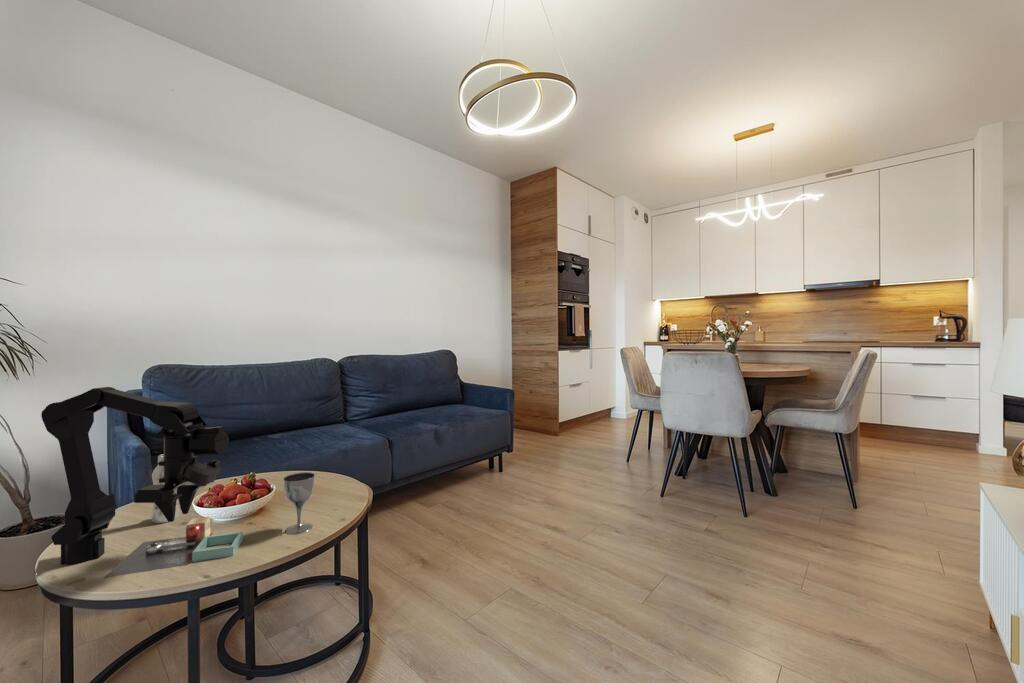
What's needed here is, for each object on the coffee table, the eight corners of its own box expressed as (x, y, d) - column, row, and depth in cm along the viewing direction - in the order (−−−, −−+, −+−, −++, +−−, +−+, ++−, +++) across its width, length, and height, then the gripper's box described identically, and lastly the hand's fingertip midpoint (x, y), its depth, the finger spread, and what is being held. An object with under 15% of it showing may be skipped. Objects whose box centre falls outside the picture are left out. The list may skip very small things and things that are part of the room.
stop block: (186, 544, 106) (186, 525, 106) (192, 537, 109) (192, 518, 109) (204, 541, 107) (204, 522, 107) (210, 534, 111) (210, 516, 111)
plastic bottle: (175, 515, 125) (175, 450, 125) (182, 521, 121) (183, 454, 121) (147, 523, 120) (148, 455, 120) (154, 529, 116) (155, 459, 116)
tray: (192, 565, 97) (192, 552, 97) (205, 548, 105) (205, 536, 105) (233, 558, 100) (233, 546, 100) (242, 542, 108) (242, 531, 108)
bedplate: (104, 581, 91) (104, 576, 91) (143, 545, 107) (143, 541, 107) (187, 568, 96) (187, 564, 96) (212, 535, 112) (212, 532, 112)
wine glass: (283, 537, 111) (284, 483, 111) (282, 526, 118) (282, 475, 118) (315, 530, 115) (316, 478, 115) (312, 520, 122) (312, 470, 122)
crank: (143, 555, 100) (143, 535, 100) (148, 549, 103) (149, 530, 103) (198, 546, 104) (198, 528, 104) (202, 541, 107) (202, 522, 107)
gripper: (182, 465, 91) (182, 534, 91) (236, 445, 110) (235, 502, 110) (132, 466, 91) (131, 535, 91) (194, 445, 110) (193, 502, 110)
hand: (178, 517), depth 100 cm, fingers open, 4 cm apart
